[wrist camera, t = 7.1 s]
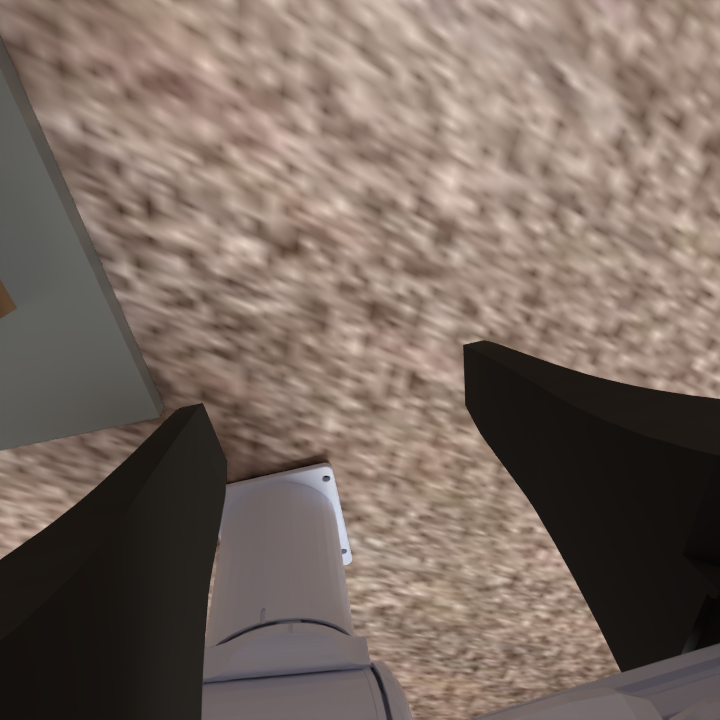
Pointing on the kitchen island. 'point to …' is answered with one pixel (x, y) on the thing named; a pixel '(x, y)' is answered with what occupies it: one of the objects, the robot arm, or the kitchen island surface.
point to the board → (56, 300)
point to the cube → (5, 301)
